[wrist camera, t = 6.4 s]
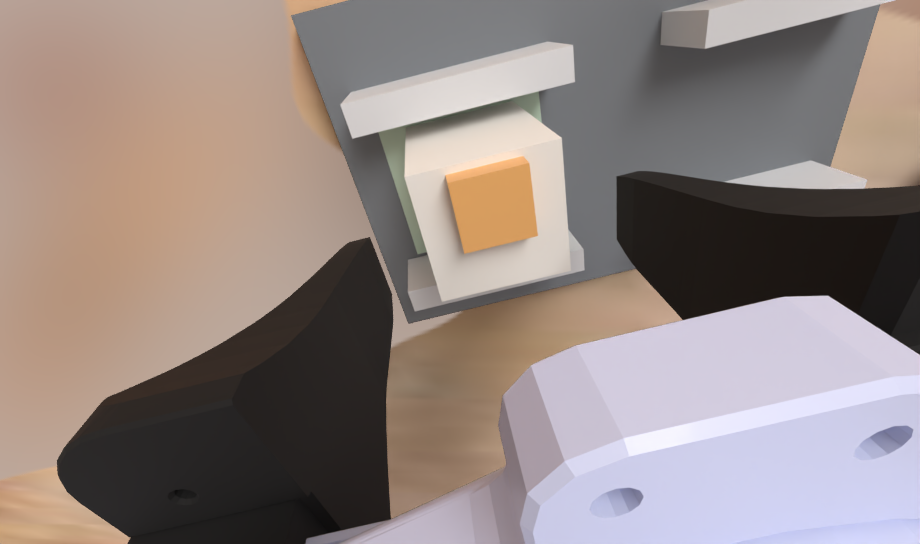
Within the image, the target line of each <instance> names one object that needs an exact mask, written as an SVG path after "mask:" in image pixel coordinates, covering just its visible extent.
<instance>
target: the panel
mask: <svg viewBox="0 0 920 544" xmlns="http://www.w3.org/2000/svg"><path fill="white" fill-rule="evenodd" d="M890 1H894V0H348V1H345V2H341V3H337V4H333V5H329V6H326V7H322V8H318V9H314V10H310V11H307V12H303V13H299V14H295V15H291V17H292V20H293V22H294V25H295V27H296V30H297V33H298V35H299V38H300V40H301V43H302V46H303V48H304V51H305V54H306V56H307V59H308V61H309V64H310V67H311V69H312V72H313V75H314V77H315V80H316V82H317V85H318V88H319V90H320V93H321V96H322V98H323V101H324V103H325V106H326V109H327V111H328V114H329V117H330V119H331V122H332V124H333V127H334V130H335V132H336V135H337V138H338V140H339V143H340V145H341V148H342V151H343V153H344V156H345V158H346V161H347V164H348V166H349V169H350V172H351V174H352V177H353V180H354V182H355V185H356V187H357V190H358V193H359V195H360V198H361V201H362V203H363V206H364V208H365V211H366V214H367V216H368V219H369V221H370V224H371V227H372V229H373V232H374V234H375V237H376V240H377V242H378V245H379V248H380V250H381V253H382V255H383V258H384V261H385V263H386V266H387V268H388V271H389V274H390V277H391V279H392V282H393V284H394V287H395V290H396V292H397V295H398V298H399V300H400V303H401V305H402V308H403V311H404V313H405V316H406V318H407V321H408V323H413V322H417V321H422V320H426V319H430V318H434V317H438V316H442V315H446V314H451V313H455V312H459V311H463V310H467V309H471V308H475V307H479V306H484V305H488V304H492V303H496V302H500V301H504V300H508V299H512V298H516V297H521V296H525V295H529V294H533V293H537V292H541V291H545V290H549V289H554V288H558V287H562V286H566V285H570V284H574V283H578V282H582V281H587V280H591V279H595V278H599V277H603V276H607V275H611V274H615V273H620V272H624V271H628V270H632V269H636V268H635V266H634V265H633V264H632V263H631V261H630V260H629V258H628V257H627V255H626V254H625V252H624V251H623V249H622V247H621V246H620V244H619V242H618V241H617V186H616V176H620V175H624V174H628V173H632V172H636V171H653V172H661V173H669V174H675V175H681V176H688V177H694V178H700V179H707V180H713V181H721V182H728V183H736V184H745V185H754V186H765V187H782V188H801V189H864V188H865V185H866V182H867V179H864V178H861V177H858V176H855V175H852V174H849V173H846V172H844V171H841V170H838V169H835V168H832V167H830V166H831V163H832V159H833V156H834V153H835V150H836V146H837V143H838V140H839V137H840V133H841V130H842V127H843V124H844V120H845V117H846V114H847V111H848V107H849V104H850V101H851V98H852V94H853V91H854V88H855V85H856V81H857V78H858V75H859V72H860V68H861V65H862V62H863V59H864V55H865V52H866V49H867V46H868V42H869V39H870V36H871V33H872V29H873V26H874V23H875V20H876V16H877V13H878V10H879V7H880V4H883V3H887V2H890ZM511 101H513V102H514V103H516V104H517V105H518V106H520V107H521V108H522V109H524V110H525V111H526V112H528V113H529V114H530V115H532V116H533V117H534V118H536V119H537V120H538V121H540V122H541V123H542V124H544V125H545V126H546V127H548V128H549V129H550V130H552V131H553V132H554V133H556V134H557V135H558V136H560V137H561V138H562V148H563V162H564V177H565V191H566V205H567V220H568V234H569V249H570V263H571V271H568V272H564V273H560V274H555V275H551V276H547V277H543V278H539V279H535V280H530V281H526V282H522V283H518V284H514V285H510V286H505V287H501V288H497V289H493V290H489V291H485V292H481V293H476V294H472V295H468V296H464V297H460V298H456V299H451V300H447V301H443V302H442V300H441V297H440V293H439V290H438V287H437V283H436V280H435V277H434V273H433V270H432V267H431V264H430V260H429V257H428V254H427V250H426V247H425V244H424V240H423V237H422V234H421V230H420V227H419V224H418V220H417V217H416V214H415V210H414V207H413V204H412V201H411V197H410V194H409V191H408V187H407V184H406V181H405V177H404V174H405V138H406V128H407V127H411V126H415V125H419V124H423V123H427V122H431V121H435V120H439V119H443V118H447V117H451V116H455V115H459V114H463V113H467V112H471V111H475V110H479V109H483V108H487V107H491V106H495V105H499V104H503V103H507V102H511Z"/></svg>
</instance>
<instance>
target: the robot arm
mask: <svg viewBox="0 0 920 544" xmlns="http://www.w3.org/2000/svg"><path fill="white" fill-rule="evenodd" d="M616 186H617V241H618V242H619V244H620V246H621V247H622V249H623V251H624V252H625V254H626V255H627V257H628V258H629V260H630V261H631V263H632V264H633V265H634V266H635V268H636V269H637V270H638V271H639V272H640V273H641V274H642V275H643V277H644V278H645V279H646V280H647V281H648V282H649V283H650V284H651V285H652V286H653V288H654V289H655V290H656V291H657V292H658V293H659V294H660V295H661V296H662V297H663V298H664V300H665V301H666V302H667V303H668V304H669V305H670V306H671V307H672V308H673V309H674V310H675V311H676V313H677V314H678V315H679V316H680V317H681V318H682V321H677V322H673V323H669V324H665V325H660V326H656V327H652V328H648V329H643V330H639V331H635V332H631V333H626V334H622V335H618V336H614V337H609V338H605V339H601V340H597V341H592V342H588V343H584V344H580V345H575V346H572V347H570V348H568V349H565V350H563V351H561V352H558V353H556V354H554V355H552V356H549V357H547V358H545V359H543V360H540V361H538V362H536V363H534V364H532V365H531V366H530V367H529V368H528V369H527V370H526V371H525V372H524V373H523V374H522V376H521V377H520V378H519V379H518V380H517V381H516V382H515V383H514V384H513V385H512V386H511V387H510V388H509V389H508V391H507V392H506V393H505V394H504V395H503V398H502V404H501V411H500V418H499V425H498V426H499V431H500V435H501V440H502V444H503V449H504V454H505V458H506V466H505V467H503V468H501V469H498V470H496V471H494V472H492V473H490V474H488V475H485V476H483V477H481V478H479V479H477V480H475V481H473V482H470V483H468V484H466V485H464V486H462V487H460V488H457V489H455V490H453V491H451V492H449V493H447V494H444V495H442V496H440V497H438V498H436V499H434V500H431V501H429V502H427V503H425V504H423V505H421V506H418V507H416V508H414V509H412V510H410V511H408V512H405V513H403V514H401V515H399V516H397V517H395V518H392V519H391V515H390V500H389V482H388V464H387V434H386V388H387V377H388V367H389V358H390V349H391V339H392V329H393V306H392V293H391V291H390V288H389V286H388V283H387V280H386V278H385V275H384V273H383V270H382V267H381V265H380V263H379V260H378V257H377V255H376V252H375V249H374V247H373V244H372V242H371V239H370V237H369V238H365V239H361V240H357V241H353V242H349V243H348V244H346V245H345V246H344V247H343V248H341V249H340V250H339V251H338V252H337V253H336V254H335V255H334V256H333V257H332V258H331V259H330V260H329V261H328V262H327V263H326V264H325V265H324V266H323V267H322V268H320V270H318V271H317V272H316V273H315V274H314V275H313V276H312V277H311V278H310V279H309V280H308V281H307V282H305V283H304V284H303V285H302V286H301V287H300V288H299V289H298V290H296V291H295V292H294V293H293V294H292V295H291V296H290V297H288V298H287V299H286V300H285V301H284V302H282V303H281V304H280V305H278V306H277V307H276V308H274V309H273V310H272V311H270V312H269V313H268V314H266V315H265V316H264V317H262V318H261V319H259V320H258V321H256V322H255V323H254V324H252V325H250V326H249V327H247V328H245V329H244V330H242V331H241V332H239V333H237V334H236V335H234V336H233V337H231V338H229V339H228V340H226V341H224V342H223V343H221V344H219V345H218V346H216V347H214V348H212V349H210V350H208V351H207V352H205V353H203V354H201V355H199V356H197V357H195V358H193V359H192V360H189V361H188V362H185V363H183V364H182V365H180V366H177V367H175V368H173V369H171V370H169V371H167V372H165V373H163V374H161V375H158V376H156V377H154V378H151V379H149V380H147V381H144V382H142V383H140V384H138V385H135V386H133V387H131V388H129V389H127V390H124V391H122V392H119V393H117V394H114V395H112V396H110V397H108V398H106V399H105V400H104V401H103V402H102V403H101V404H100V405H99V406H98V407H97V409H96V410H95V411H94V412H93V414H92V415H91V416H90V417H89V418H88V419H87V421H86V422H85V423H84V425H83V426H82V427H81V428H80V429H79V431H78V432H77V433H76V434H75V435H74V436H73V438H72V439H71V440H70V441H69V443H68V444H67V445H66V446H65V447H64V449H63V451H62V453H61V455H60V456H59V458H58V460H57V471H58V476H59V479H60V480H61V482H62V484H63V486H64V487H65V489H66V491H67V492H68V493H69V494H70V495H71V496H73V497H74V498H75V499H76V500H77V501H78V502H79V503H81V504H82V505H84V506H85V507H86V508H88V509H89V510H91V511H92V512H94V513H95V514H97V515H98V516H99V517H101V518H102V519H104V520H105V521H107V522H108V523H110V524H111V525H112V526H114V527H115V528H117V529H118V530H120V531H121V532H123V533H124V534H125V535H127V536H128V537H131V538H130V540H129V542H128V544H920V186H908V187H893V188H868V189H801V188H782V187H765V186H754V185H745V184H736V183H728V182H721V181H713V180H707V179H700V178H694V177H688V176H681V175H675V174H669V173H661V172H653V171H636V172H632V173H628V174H624V175H620V176H616Z"/></svg>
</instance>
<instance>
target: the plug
mask: <svg viewBox="0 0 920 544" xmlns="http://www.w3.org/2000/svg"><path fill="white" fill-rule="evenodd" d="M404 177H405V181H406V184H407V187H408V191H409V194H410V197H411V201H412V204H413V207H414V210H415V214H416V217H417V220H418V224H419V227H420V230H421V234H422V237H423V240H424V244H425V247H426V250H427V254H428V257H429V260H430V264H431V267H432V270H433V273H434V277H435V280H436V283H437V287H438V290H439V293H440V297H441V300H442V302H443V301H447V300H451V299H456V298H460V297H464V296H468V295H472V294H476V293H481V292H485V291H489V290H493V289H497V288H501V287H505V286H510V285H514V284H518V283H522V282H526V281H530V280H535V279H539V278H543V277H547V276H551V275H555V274H560V273H564V272H568V271H571V263H570V249H569V234H568V220H567V205H566V191H565V177H564V162H563V148H562V138H561V137H560V136H558V135H557V134H556V133H554V132H553V131H552V130H550V129H549V128H548V127H546V126H545V125H544V124H542V123H541V122H540V121H538V120H537V119H536V118H534V117H533V116H532V115H530V114H529V113H528V112H526V111H525V110H524V109H522V108H521V107H520V106H518V105H517V104H516V103H514V102H513V101H511V102H507V103H503V104H499V105H495V106H491V107H487V108H483V109H479V110H475V111H471V112H467V113H463V114H459V115H455V116H451V117H447V118H443V119H439V120H435V121H431V122H427V123H423V124H419V125H415V126H411V127H407V128H406V138H405V174H404Z"/></svg>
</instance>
